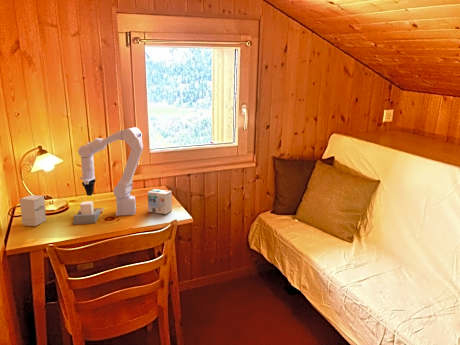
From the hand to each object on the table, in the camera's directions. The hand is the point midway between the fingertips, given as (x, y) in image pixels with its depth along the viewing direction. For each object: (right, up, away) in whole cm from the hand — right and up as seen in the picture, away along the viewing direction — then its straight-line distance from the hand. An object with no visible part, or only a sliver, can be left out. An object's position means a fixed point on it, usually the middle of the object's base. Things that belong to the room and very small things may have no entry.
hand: (90, 194), depth 187 cm
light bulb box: (+35, -9, +3) cm, 37 cm away
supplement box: (-20, -13, -15) cm, 28 cm away
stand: (+3, -9, +2) cm, 9 cm away
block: (+1, -9, -6) cm, 11 cm away
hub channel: (+2, -11, -9) cm, 15 cm away
